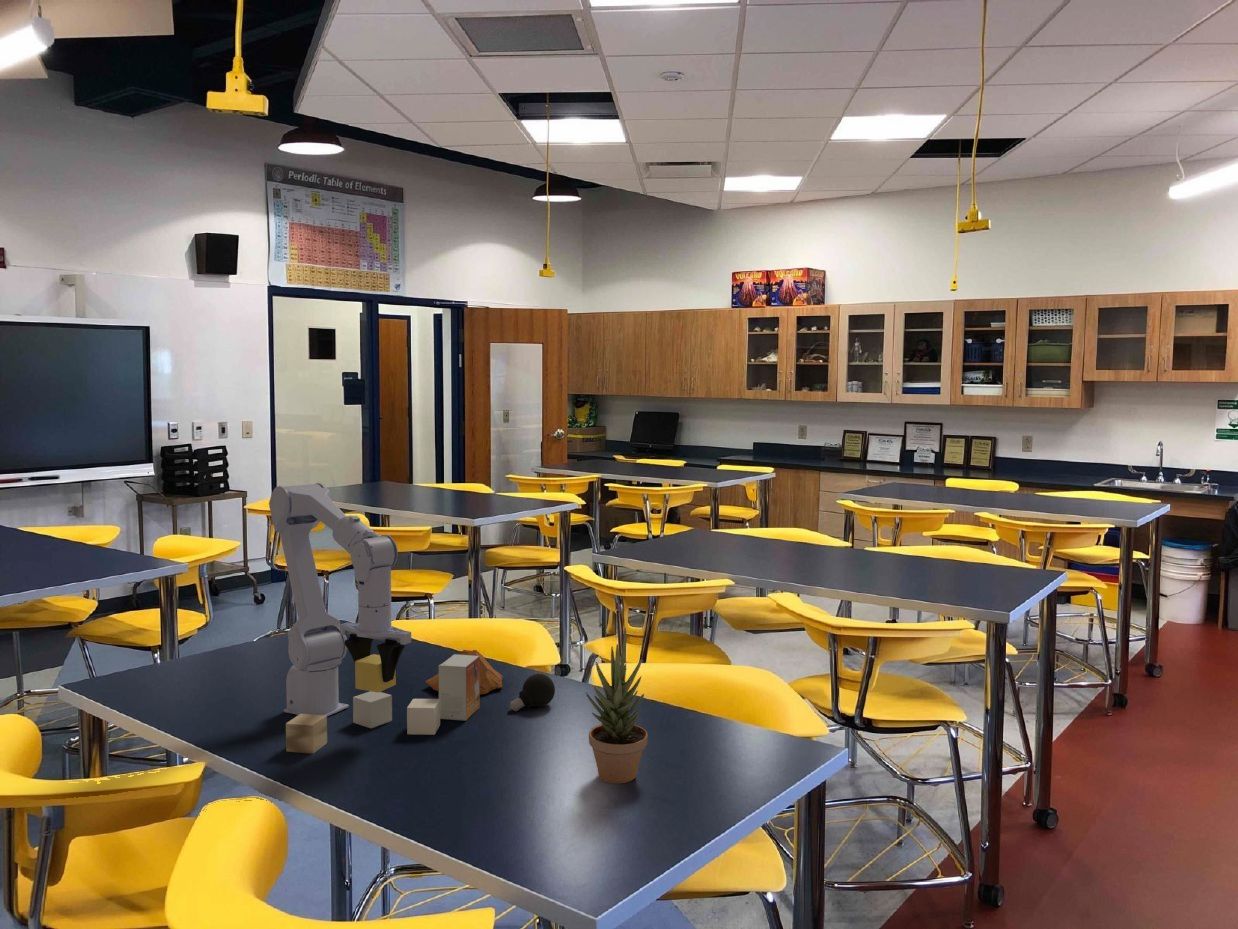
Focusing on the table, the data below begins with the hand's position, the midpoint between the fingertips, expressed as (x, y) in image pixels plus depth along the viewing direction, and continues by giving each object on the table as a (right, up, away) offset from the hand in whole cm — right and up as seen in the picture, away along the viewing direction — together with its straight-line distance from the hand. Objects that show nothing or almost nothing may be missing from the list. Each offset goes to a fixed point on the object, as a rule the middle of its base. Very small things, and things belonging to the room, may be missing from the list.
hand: (375, 678), depth 171 cm
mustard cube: (0, -2, 0) cm, 2 cm away
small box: (+13, -10, +12) cm, 20 cm away
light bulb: (+27, -10, +16) cm, 33 cm away
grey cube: (-2, -10, +7) cm, 13 cm away
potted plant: (+44, -12, -16) cm, 48 cm away
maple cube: (-11, -11, -5) cm, 16 cm away
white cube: (+8, -10, +4) cm, 14 cm away
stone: (+12, -9, +28) cm, 32 cm away
